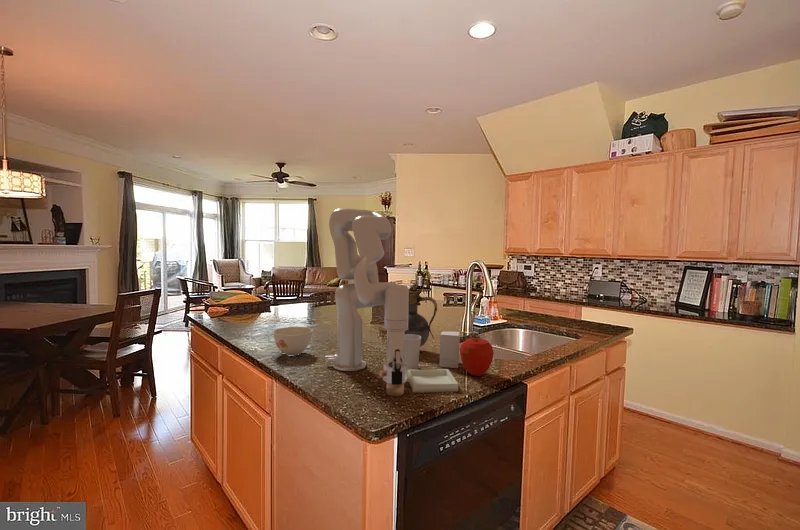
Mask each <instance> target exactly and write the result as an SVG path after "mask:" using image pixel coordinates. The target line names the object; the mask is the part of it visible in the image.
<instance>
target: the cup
mask: <svg viewBox="0 0 800 530" xmlns="http://www.w3.org/2000/svg"><path fill="white" fill-rule="evenodd" d="M420 344H421V336H419V335H413V334H406V335H405V340H404V361H403V362H404V363H406V364H407V370H419V362H420V352H421V347H420Z"/></svg>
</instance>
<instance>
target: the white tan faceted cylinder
mask: <svg viewBox="0 0 800 530" xmlns="http://www.w3.org/2000/svg"><path fill="white" fill-rule="evenodd" d="M395 365H396V364H394V366H395ZM390 366H392V364H390ZM385 383H386V382H385ZM385 393H386V395H388V396H391V397H392V396H393V397H399V396H400V397H401V396H403V395H404V394H405V383H402V384H397V385H392V384H389V383H386V388H385Z"/></svg>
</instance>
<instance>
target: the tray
mask: <svg viewBox="0 0 800 530" xmlns="http://www.w3.org/2000/svg"><path fill="white" fill-rule="evenodd" d="M407 381H408V382H409V386H410V388H411V391H412V393H446V392H448V393H450V392H459V382H458V381H457V380H456V378H455V377H454V376H453V374H452V373H451V371H450V370H449V369H448V368H439V369H438V368H432V369H429V368H427V369H423V368H422V369H417V370H407Z"/></svg>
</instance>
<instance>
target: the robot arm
mask: <svg viewBox="0 0 800 530" xmlns="http://www.w3.org/2000/svg"><path fill="white" fill-rule="evenodd" d="M328 227H329V233H330V236H331V239H332V242H333V245H334V254H335V267H336V272H337V277H338V279H340V280H341V281H353V282H354V283H345V284H342V285H339V286H338V287H337V288H336V290H335V293H334V300H335V301H334V302H335V305H336V312H337V313H336V314H337V315H336V317H337V318H336V319H337V322H336V323H337V324H336V326H337V327H336V329H337V330H336V336H337V337H336V338H337V339H336V341H337V342H336V343H337V344H336V345H337V346H336V354H333V355H325V356H324V359H325V361H327V363H332V367H333V369H335V370H337V371H341V372H355V371H359V370H363V369H365V368H366V367H367V362H366V361H365V360H363V327H364V325H363V323H364V322H363V318H362V316H361V314H360V313H359V312H358V309H364V308H365V309H366V308H374V307H377V306H384V316H383V317H384V320H383V321H384V323H383V324H384V325H383V326H384V327H383V329H384V330H385V331H387V332H386V347H385V348H386V351H385V356H386V360H387V361H386V362H388V363H390V362H392V367H393V371H392V385H397V384H402V362H403V361H404V340H405V331H406V330H408V310H409V287H408V286H407V285H404V284H398V283H396V282H393V281H392V282H391V281H385V282H384V281H383V282H382V281H381V282H379V281H380V280H379V270H378V265H377V262H379V261H381V259H382V258H384V256H385V250H384V247H383V244H382V241H381V240H383V241H384V240H387V239H389V238H390V237H391V235H392V224H391V222H390V220H389V219H388V218H387V217H386V216H385V215H382V214H380V213H378V212H377V211H373V210H369V209H358V208H349V207H347V208H345V207H343V208H337V209H335V210H333V211H332V213H330V216H329V222H328ZM349 232H353V236H352V235H351V234H350V233H349ZM394 364H396V365H395V366H394Z"/></svg>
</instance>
